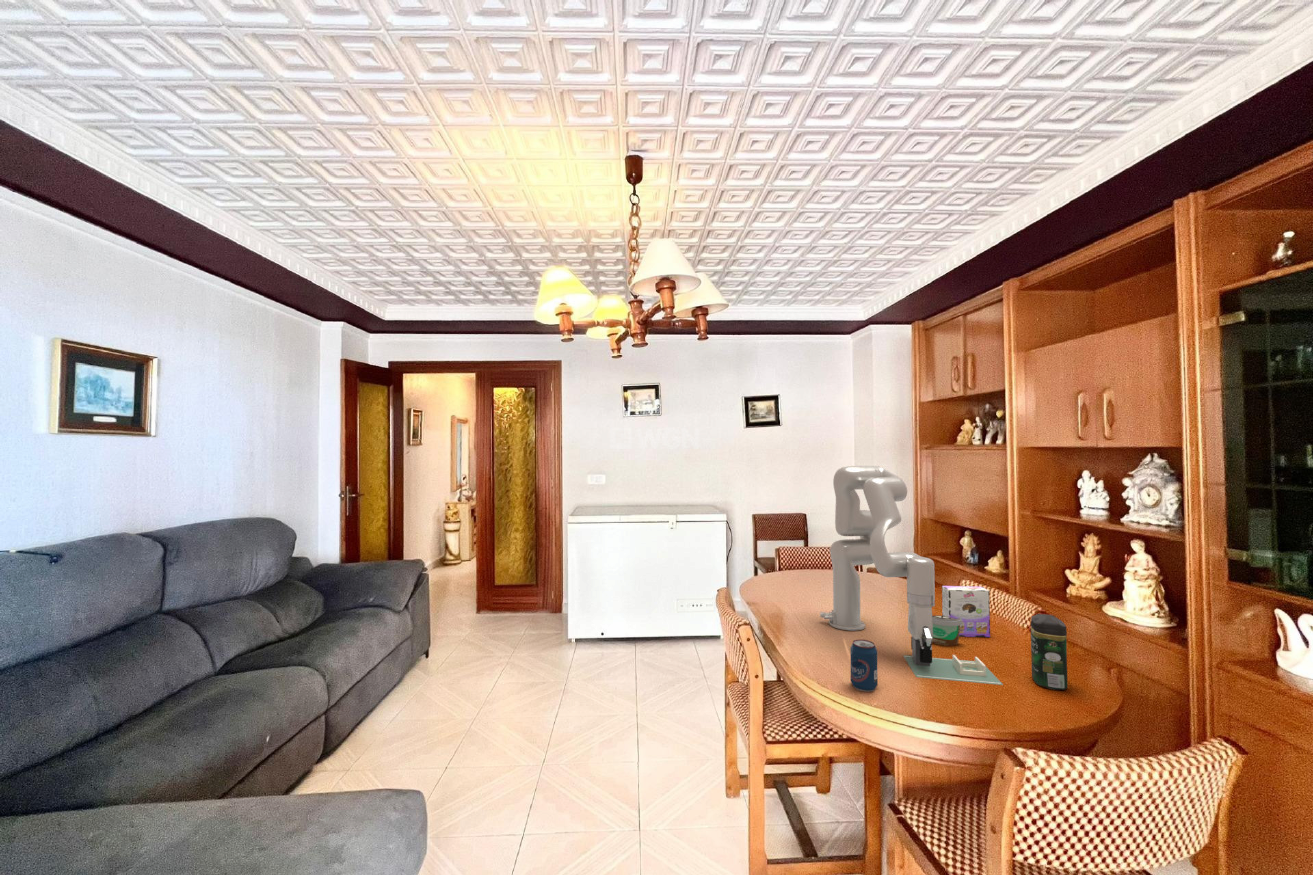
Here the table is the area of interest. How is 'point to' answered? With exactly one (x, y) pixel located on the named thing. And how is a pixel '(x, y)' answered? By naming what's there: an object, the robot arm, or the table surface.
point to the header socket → (977, 665)
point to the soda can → (864, 665)
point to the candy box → (968, 609)
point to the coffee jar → (1049, 651)
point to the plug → (917, 652)
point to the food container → (946, 630)
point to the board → (949, 671)
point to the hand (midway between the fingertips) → (921, 656)
